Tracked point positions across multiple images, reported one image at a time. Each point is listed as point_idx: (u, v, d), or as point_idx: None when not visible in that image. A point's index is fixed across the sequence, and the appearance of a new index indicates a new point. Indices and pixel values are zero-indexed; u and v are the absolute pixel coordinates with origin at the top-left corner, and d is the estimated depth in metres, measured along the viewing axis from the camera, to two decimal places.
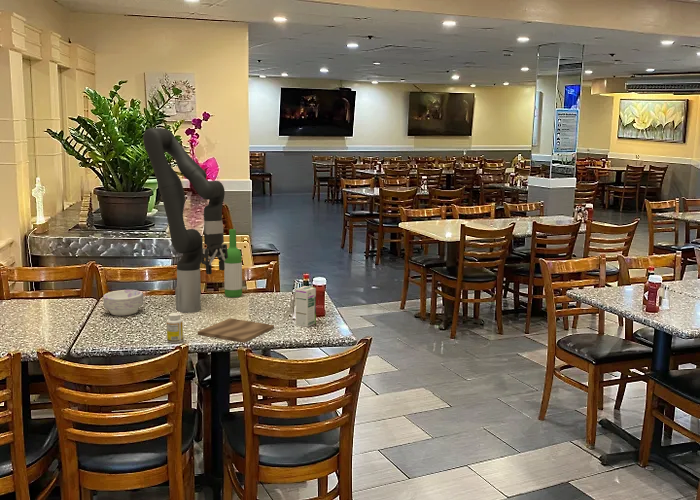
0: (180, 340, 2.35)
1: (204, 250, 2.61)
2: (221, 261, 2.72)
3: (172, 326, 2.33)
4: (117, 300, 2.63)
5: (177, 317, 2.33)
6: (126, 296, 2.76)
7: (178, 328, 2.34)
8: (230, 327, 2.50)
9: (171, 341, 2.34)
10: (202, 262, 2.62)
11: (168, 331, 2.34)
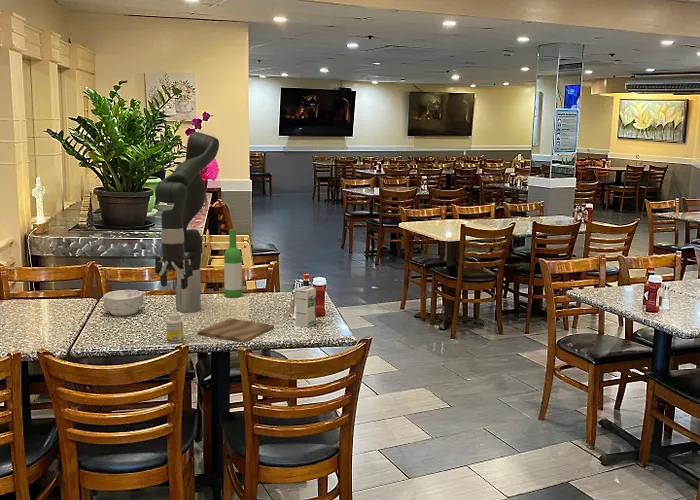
0: (180, 340, 2.35)
1: (189, 261, 2.29)
2: (165, 275, 2.34)
3: (172, 326, 2.33)
4: (117, 300, 2.63)
5: (177, 317, 2.33)
6: (126, 296, 2.76)
7: (178, 328, 2.34)
8: (230, 327, 2.50)
9: (171, 341, 2.34)
10: (189, 275, 2.29)
11: (168, 331, 2.34)
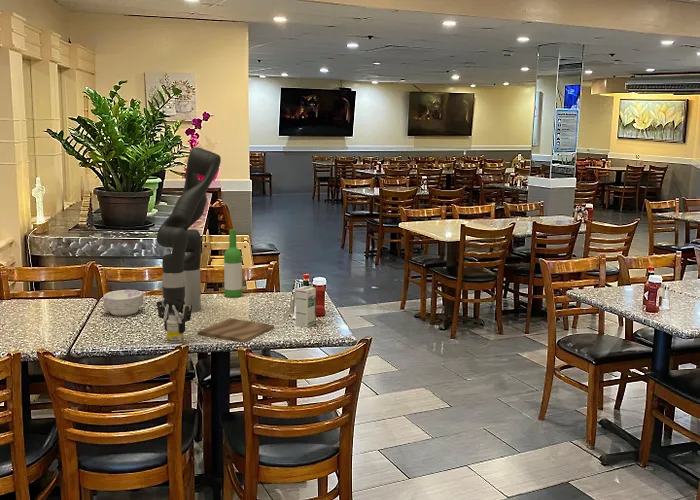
0: (180, 340, 2.35)
1: (190, 307, 2.32)
2: None
3: (172, 326, 2.33)
4: (117, 300, 2.63)
5: None
6: (126, 296, 2.76)
7: (178, 328, 2.34)
8: (230, 327, 2.50)
9: (171, 341, 2.34)
10: (186, 320, 2.32)
11: (168, 331, 2.34)
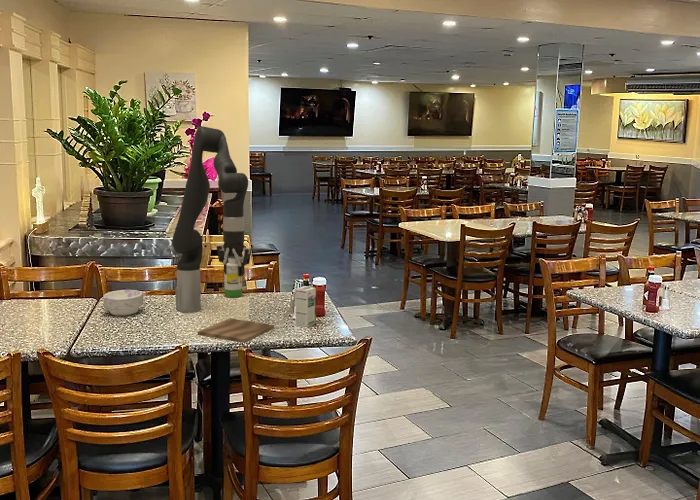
0: (239, 283, 2.44)
1: (249, 250, 2.41)
2: None
3: (232, 268, 2.42)
4: (117, 300, 2.63)
5: (236, 260, 2.43)
6: (126, 296, 2.76)
7: None
8: (230, 327, 2.50)
9: (231, 283, 2.43)
10: (246, 263, 2.41)
11: (228, 274, 2.43)
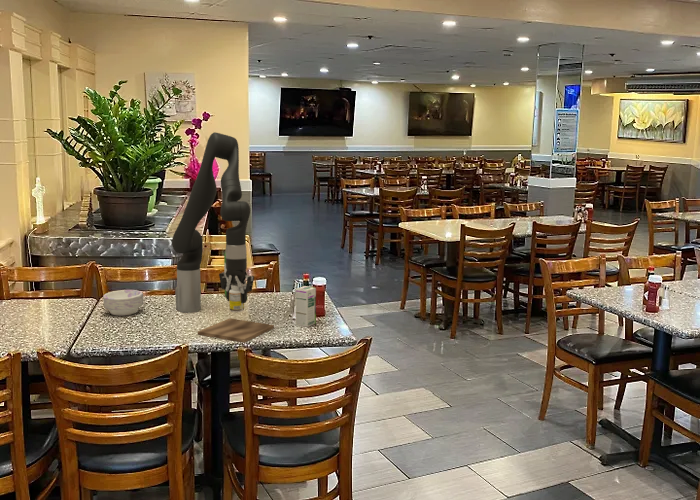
0: (242, 309, 2.47)
1: (252, 278, 2.43)
2: None
3: (235, 295, 2.44)
4: (117, 300, 2.63)
5: None
6: (126, 296, 2.76)
7: None
8: (230, 327, 2.50)
9: (234, 310, 2.45)
10: (248, 290, 2.44)
11: (231, 301, 2.45)
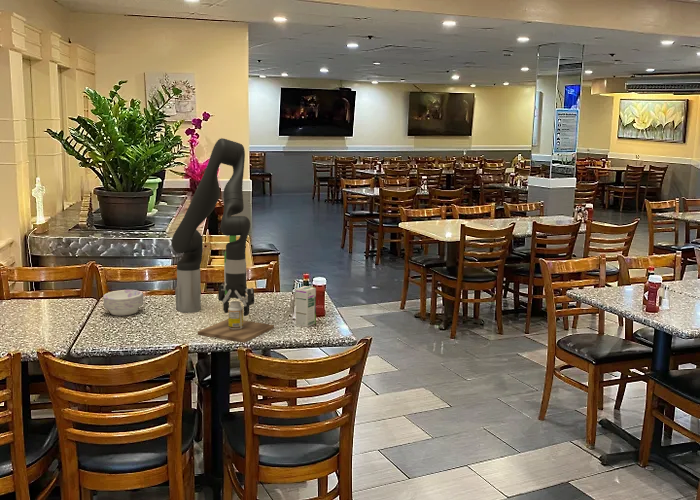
0: (241, 327, 2.48)
1: (252, 290, 2.44)
2: (227, 302, 2.49)
3: (234, 313, 2.45)
4: (117, 300, 2.63)
5: (238, 305, 2.46)
6: (126, 296, 2.76)
7: (240, 315, 2.46)
8: None
9: (232, 328, 2.47)
10: (251, 303, 2.44)
11: (230, 318, 2.47)
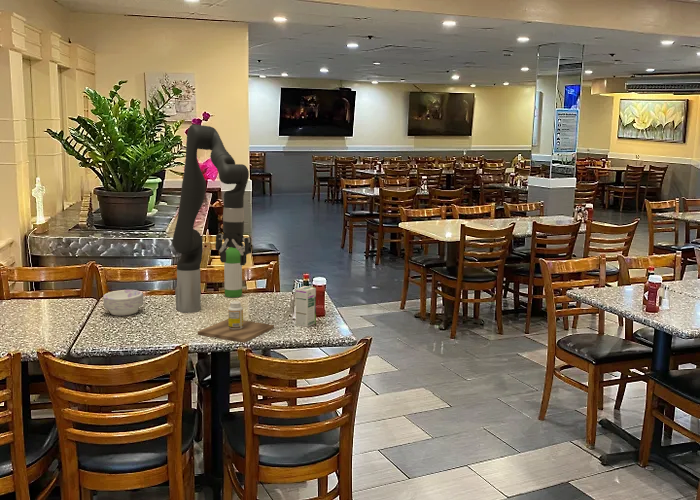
0: (241, 327, 2.48)
1: (249, 239, 2.43)
2: (224, 252, 2.48)
3: (234, 313, 2.45)
4: (117, 300, 2.63)
5: (238, 305, 2.46)
6: (126, 296, 2.76)
7: (240, 315, 2.46)
8: None
9: (232, 328, 2.47)
10: (248, 252, 2.43)
11: (230, 318, 2.47)
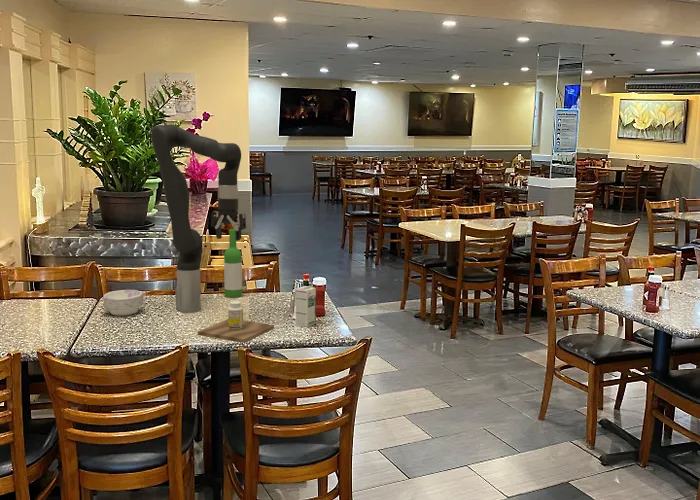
0: (241, 327, 2.48)
1: (243, 214, 2.53)
2: (220, 229, 2.58)
3: (234, 313, 2.45)
4: (117, 300, 2.63)
5: (238, 305, 2.46)
6: (126, 296, 2.76)
7: (240, 315, 2.46)
8: None
9: (232, 328, 2.47)
10: (243, 227, 2.52)
11: (230, 318, 2.47)
